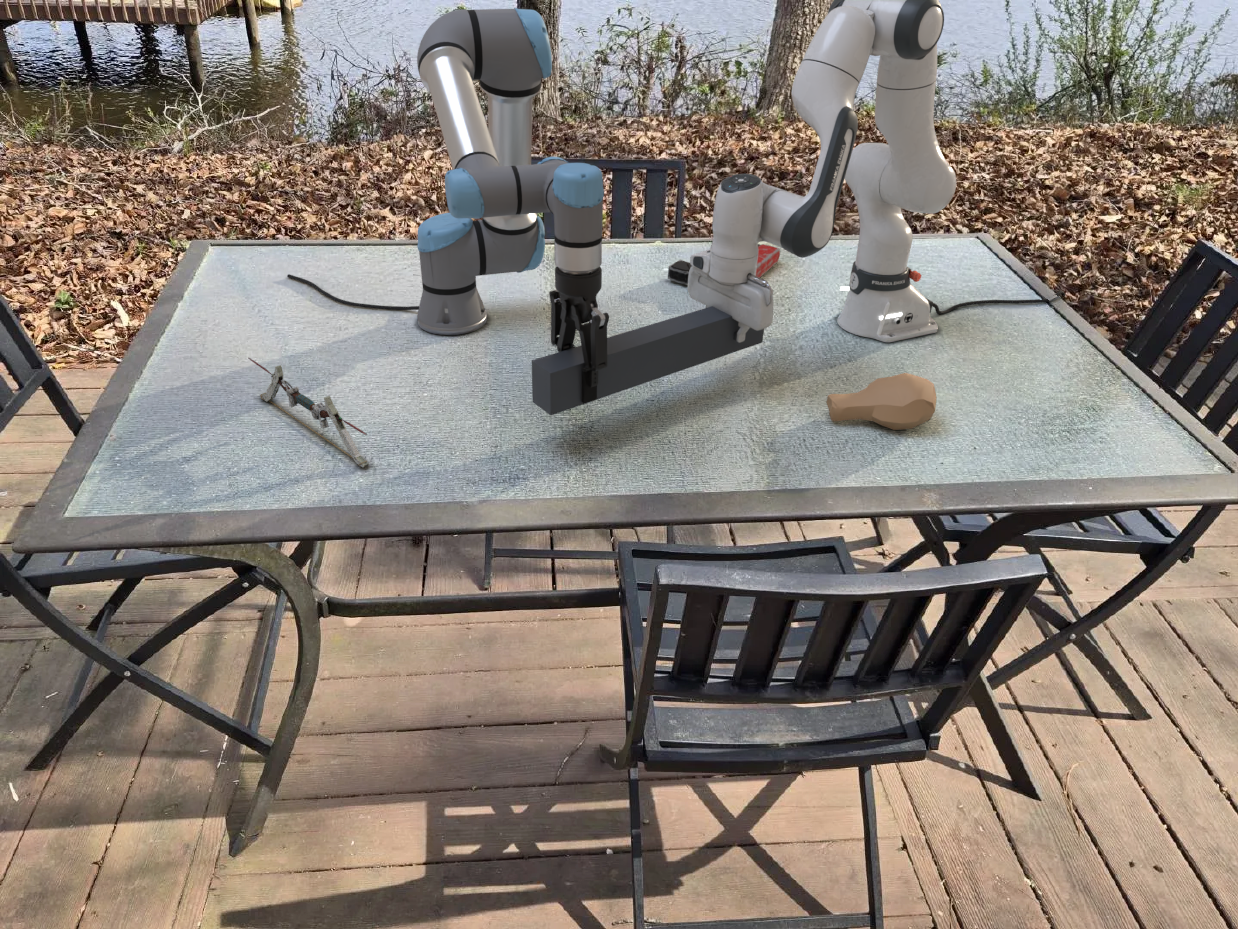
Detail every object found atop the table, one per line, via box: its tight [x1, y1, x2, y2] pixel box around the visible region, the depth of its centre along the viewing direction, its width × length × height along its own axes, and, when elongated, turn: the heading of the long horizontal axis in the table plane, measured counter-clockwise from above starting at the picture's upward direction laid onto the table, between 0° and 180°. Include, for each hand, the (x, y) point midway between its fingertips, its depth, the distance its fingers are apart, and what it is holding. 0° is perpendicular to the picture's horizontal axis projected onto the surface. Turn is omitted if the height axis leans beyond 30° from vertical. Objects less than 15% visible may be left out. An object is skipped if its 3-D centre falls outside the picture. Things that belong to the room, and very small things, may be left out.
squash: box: [825, 372, 938, 431], centre depth 163 cm, size 11×20×9 cm, turn 90°
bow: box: [247, 356, 370, 468], centre depth 154 cm, size 39×2×10 cm, turn 47°
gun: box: [667, 243, 781, 286], centre depth 224 cm, size 4×31×19 cm
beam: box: [531, 306, 765, 416], centre depth 160 cm, size 51×6×8 cm, turn 128°
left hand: (578, 392), depth 153 cm, fingers closed on beam, 6 cm apart
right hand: (726, 334), depth 170 cm, fingers closed on beam, 5 cm apart
